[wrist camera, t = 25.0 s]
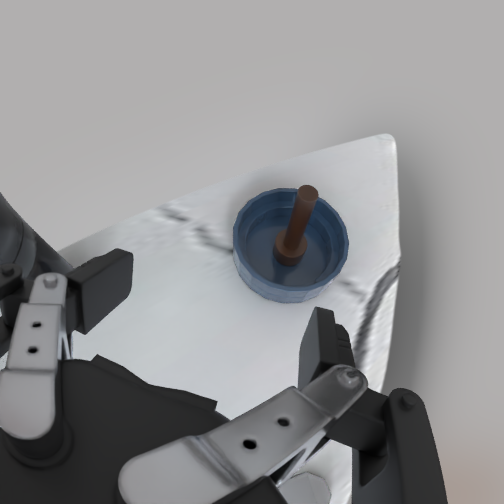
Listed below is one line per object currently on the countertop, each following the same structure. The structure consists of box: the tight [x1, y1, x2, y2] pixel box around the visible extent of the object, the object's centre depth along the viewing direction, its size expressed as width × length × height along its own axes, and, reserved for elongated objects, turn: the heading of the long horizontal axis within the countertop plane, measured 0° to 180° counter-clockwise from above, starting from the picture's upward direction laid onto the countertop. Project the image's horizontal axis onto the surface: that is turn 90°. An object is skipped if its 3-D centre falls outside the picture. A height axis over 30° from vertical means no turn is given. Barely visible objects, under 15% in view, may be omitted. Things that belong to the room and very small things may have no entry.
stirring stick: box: [273, 185, 318, 266], centre depth 36 cm, size 4×4×14 cm
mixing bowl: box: [233, 188, 349, 303], centre depth 41 cm, size 15×15×6 cm
